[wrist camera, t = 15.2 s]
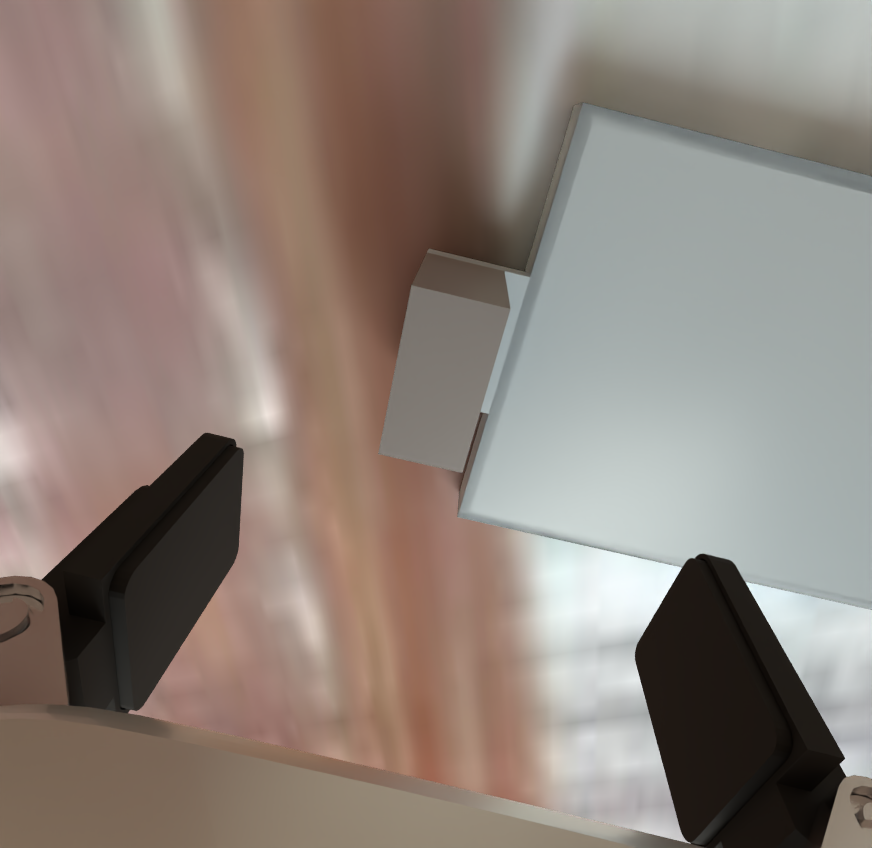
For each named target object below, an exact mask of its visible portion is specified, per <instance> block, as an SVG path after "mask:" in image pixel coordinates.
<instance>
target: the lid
mask: <svg viewBox="0 0 872 848" xmlns="http://www.w3.org/2000/svg"><path fill="white" fill-rule="evenodd" d="M480 412H483V414H482V417H481V420H480V424H479V427H478V431H477V434H476V437H475V441H474V444H473V447H472V451H471V454H470V458H469V461H468V464H467V468H466V471H465V474H464V478H463V481H462V485H461V488H460V491H459V501H458V516H457V517H460V518H464V519H469V520H473V521H477V522H482V523H486V524H491V525H495V526H500V527H504V528H509V529H513V530H518V531H522V532H527V533H531V534H536V535H540V536H544V537H549V538H553V539H558V540H562V541H567V542H571V543H576V544H580V545H585V546H589V547H594V548H598V549H602V550H607V551H611V552H616V553H620V554H625V555H629V556H634V557H638V558H643V559H647V560H652V561H656V562H660V563H665V564H669V565H674V566H678V567H683V566H684V564H685V562H686V561H687V560H688V559H690V558H695V557H696V556H697V555H699V554H703V553H704V554H708V555H712V556H716V557H720V558H724V559H729V560H731V561H732V562H733V563H734V564H735V565H736V567H737V569H738V571H739V572H740V574H741V576H742V578H743V579H744V581H745V582H750V583H754V584H759V585H763V586H768V587H772V588H777V589H781V590H785V591H790V592H794V593H799V594H803V595H808V596H812V597H817V598H821V599H826V600H830V601H835V602H839V603H844V604H848V605H852V606H857V607H861V608H866V609H870V610H872V176H869V175H866V174H862V173H858V172H854V171H850V170H846V169H842V168H838V167H834V166H830V165H826V164H822V163H819V162H815V161H811V160H807V159H803V158H799V157H795V156H791V155H787V154H783V153H779V152H775V151H771V150H768V149H764V148H760V147H756V146H752V145H748V144H744V143H740V142H736V141H732V140H728V139H724V138H721V137H717V136H713V135H709V134H705V133H701V132H697V131H693V130H689V129H685V128H681V127H677V126H673V125H670V124H666V123H662V122H658V121H654V120H650V119H646V118H642V117H638V116H634V115H630V114H626V113H622V112H619V111H615V110H611V109H607V108H603V107H599V106H595V105H591V104H587V103H580V104H577V105H574V107H573V111H572V114H571V117H570V121H569V124H568V127H567V131H566V134H565V138H564V141H563V144H562V148H561V151H560V154H559V158H558V161H557V164H556V168H555V171H554V175H553V178H552V181H551V185H550V188H549V191H548V195H547V198H546V202H545V205H544V208H543V212H542V215H541V218H540V222H539V225H538V228H537V232H536V235H535V239H534V242H533V245H532V249H531V252H530V255H529V259H528V262H527V266H526V269H525V272H524V271H520V270H516V269H512V268H508V267H503V266H499V265H495V264H491V263H487V262H483V261H479V260H475V259H470V258H466V257H462V256H458V255H454V254H450V253H446V252H441V251H437V250H433V249H428V251H427V254H426V256H425V258H424V260H423V262H422V264H421V266H420V268H419V270H418V273H417V275H416V277H415V279H414V281H413V283H412V285H411V290H410V295H409V300H408V305H407V311H406V316H405V321H404V326H403V331H402V336H401V341H400V346H399V351H398V356H397V361H396V367H395V372H394V377H393V382H392V387H391V392H390V397H389V402H388V407H387V412H386V417H385V423H384V428H383V433H382V438H381V443H380V448H379V453H378V454H381V455H385V456H390V457H394V458H398V459H403V460H407V461H412V462H416V463H420V464H425V465H429V466H434V467H438V468H442V469H447V470H451V471H456V472H460V473H463V469H464V466H465V462H466V459H467V456H468V452H469V449H470V445H471V442H472V439H473V435H474V432H475V428H476V425H477V422H478V418H479V415H480Z"/></svg>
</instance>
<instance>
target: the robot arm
mask: <svg viewBox="0 0 872 848" xmlns="http://www.w3.org/2000/svg"><path fill="white" fill-rule="evenodd" d="M243 458H244V452H243V449H242V448H238V447H236V442H235V440H234V439H231V438H227V437H223V436H219V435H215V434H211V433H204V434H203V435H202V436H201V437H200V438H199V439H197V440H196V441H195V442H194V443H193V444H192V445H191V446H190V447H189V448H188V449H187V450H186V451H185V452H184V453H183V454H182V455H181V456H180V457H179V458H178V459H177V460H176V461H175V462H174V463H173V464H172V465H171V466H170V467H169V468H168V469H167V470H166V471H165V472H164V473H163V474H161V475H160V476H159V477H158V478H157V479H156V480H155V481H154V482H153V483H152V484H151V485H150V486H148V485H146V486H142V487H140V488H139V489H137V490H136V491H135V492H134V493H133V494H132V495H130V496H129V497H128V498H127V499H126V500H125V501H124V502H123V503H122V504H121V505H120V506H119V507H118V508H117V509H116V510H115V511H114V512H113V513H111V514H110V515H109V516H108V517H107V518H106V519H105V520H104V521H103V522H102V523H101V524H100V525H99V526H98V527H97V528H96V529H95V530H94V531H92V532H91V533H90V534H89V535H88V536H87V537H86V538H85V539H84V540H83V541H82V542H81V543H80V544H79V545H78V546H77V547H76V548H75V549H73V550H72V551H71V552H70V553H69V554H68V555H67V556H66V557H65V558H64V559H63V560H62V561H61V562H60V563H59V564H58V565H57V566H56V567H54V568H53V569H52V570H51V571H50V572H49V573H48V574H47V575H46V576H45V577H44V578H43V579H42V580H39V579H36V578H33V577H24V576H10V577H2V578H0V848H872V779H870V778H868V777H862V776H856V775H853V776H849V777H846V775H845V774H844V772H843V770H842V768H841V766H840V765H839V764H840V763H841V762H842V761H843V760H844V759H845V757H844V755H843V754H842V752H841V750H840V748H839V747H838V745H837V743H836V741H835V740H834V738H833V736H832V734H831V733H830V731H829V729H828V727H827V726H826V724H825V722H824V720H823V718H822V717H821V715H820V713H819V711H818V710H817V708H816V706H815V704H814V703H813V701H812V699H811V697H810V696H809V694H808V692H807V690H806V689H805V687H804V685H803V683H802V682H801V680H800V678H799V676H798V674H797V673H796V671H795V669H794V667H793V666H792V664H791V662H790V660H789V659H788V657H787V655H786V653H785V652H784V650H783V648H782V646H781V645H780V643H779V641H778V639H777V637H776V636H775V634H774V632H773V630H772V629H771V627H770V625H769V623H768V622H767V620H766V618H765V616H764V615H763V613H762V611H761V609H760V608H759V606H758V604H757V602H756V601H755V599H754V597H753V595H752V593H751V592H750V590H749V588H748V586H747V585H746V583H745V581H744V579H743V578H742V576H741V574H740V572H739V571H738V569H737V567H736V565H735V564H734V563H733V562H732V561H731V560H729V559H724V558H720V557H716V556H712V555H708V554H704V553H703V554H699V555H697V556H696V557H695V558H690V559H688V560H687V561H686V562H685V564H684V566H683V567H682V569H681V571H680V572H679V574H678V576H677V577H676V579H675V581H674V583H673V584H672V586H671V588H670V589H669V591H668V593H667V594H666V596H665V598H664V600H663V601H662V603H661V605H660V606H659V608H658V610H657V611H656V613H655V615H654V616H653V618H652V620H651V622H650V623H649V625H648V627H647V628H646V630H645V632H644V633H643V635H642V637H641V639H640V640H639V642H638V644H637V647H636V651H635V661H636V665H637V669H638V673H639V676H640V680H641V684H642V688H643V691H644V695H645V699H646V703H647V706H648V710H649V714H650V718H651V721H652V725H653V729H654V733H655V736H656V740H657V744H658V748H659V751H660V755H661V759H662V763H663V766H664V770H665V774H666V777H667V781H668V785H669V789H670V792H671V796H672V800H673V804H674V807H675V811H676V815H677V819H678V822H679V826H680V830H681V832H682V835H683V837H684V838H685V840H686V841H688V842H690V843H691V844H689V843H685V842H681V841H677V840H673V839H668V838H664V837H660V836H656V835H652V834H648V833H644V832H640V831H636V830H632V829H627V828H623V827H619V826H615V825H611V824H607V823H603V822H599V821H595V820H590V819H586V818H582V817H578V816H574V815H570V814H566V813H562V812H558V811H553V810H549V809H545V808H541V807H537V806H533V805H528V804H524V803H520V802H516V801H512V800H507V799H503V798H499V797H495V796H491V795H486V794H482V793H478V792H474V791H470V790H465V789H461V788H457V787H453V786H449V785H444V784H440V783H436V782H432V781H427V780H423V779H419V778H415V777H411V776H406V775H402V774H398V773H394V772H389V771H385V770H381V769H377V768H372V767H368V766H364V765H359V764H355V763H351V762H346V761H342V760H338V759H334V758H329V757H325V756H321V755H316V754H312V753H308V752H303V751H299V750H295V749H290V748H286V747H282V746H277V745H273V744H269V743H264V742H260V741H256V740H251V739H247V738H243V737H238V736H234V735H230V734H225V733H220V732H215V731H211V730H206V729H201V728H197V727H192V726H187V725H183V724H178V723H173V722H168V721H164V720H159V719H154V718H150V717H145V716H140V715H134V714H128V712H129V710H135V711H137V710H139V709H140V708H141V707H142V706H143V705H144V703H145V702H146V701H147V699H148V697H149V696H150V694H151V693H152V691H153V690H154V688H155V686H156V685H157V683H158V682H159V680H160V679H161V677H162V675H163V674H164V672H165V671H166V669H167V668H168V666H169V664H170V663H171V661H172V660H173V658H174V656H175V655H176V653H177V652H178V650H179V649H180V647H181V645H182V644H183V642H184V641H185V639H186V638H187V636H188V634H189V633H190V631H191V630H192V628H193V627H194V625H195V623H196V622H197V620H198V619H199V617H200V616H201V614H202V612H203V611H204V609H205V608H206V606H207V605H208V603H209V601H210V600H211V598H212V597H213V595H214V594H215V592H216V590H217V589H218V587H219V586H220V584H221V583H222V581H223V579H224V578H225V576H226V575H227V573H228V572H229V570H230V568H231V567H232V565H233V563H234V561H235V559H236V556H237V553H238V547H239V531H240V513H241V494H242V476H243Z"/></svg>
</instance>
